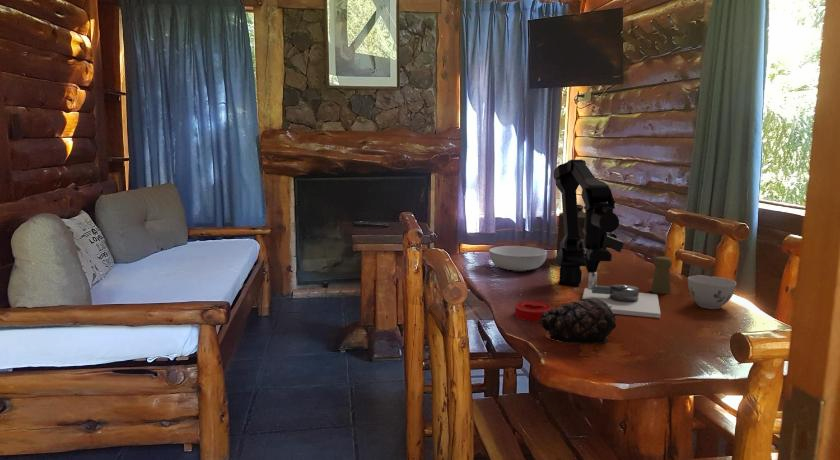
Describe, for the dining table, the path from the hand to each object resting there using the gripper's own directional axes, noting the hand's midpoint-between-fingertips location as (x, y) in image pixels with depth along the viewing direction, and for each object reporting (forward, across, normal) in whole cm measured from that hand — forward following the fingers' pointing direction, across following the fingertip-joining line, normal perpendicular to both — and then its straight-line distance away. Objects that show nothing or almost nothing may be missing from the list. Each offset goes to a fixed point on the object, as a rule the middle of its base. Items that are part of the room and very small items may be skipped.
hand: (591, 278), depth 180 cm
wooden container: (+7, +54, -7) cm, 55 cm away
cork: (+7, +10, -24) cm, 27 cm away
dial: (+5, -4, -5) cm, 8 cm away
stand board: (+6, -6, -7) cm, 11 cm away
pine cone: (+6, -37, +12) cm, 40 cm away
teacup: (+6, -5, -32) cm, 33 cm away
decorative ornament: (+6, -19, +20) cm, 28 cm away
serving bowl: (+7, +38, +18) cm, 43 cm away
